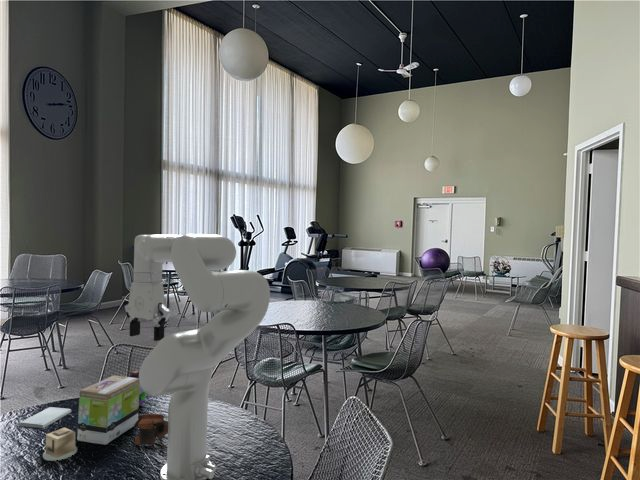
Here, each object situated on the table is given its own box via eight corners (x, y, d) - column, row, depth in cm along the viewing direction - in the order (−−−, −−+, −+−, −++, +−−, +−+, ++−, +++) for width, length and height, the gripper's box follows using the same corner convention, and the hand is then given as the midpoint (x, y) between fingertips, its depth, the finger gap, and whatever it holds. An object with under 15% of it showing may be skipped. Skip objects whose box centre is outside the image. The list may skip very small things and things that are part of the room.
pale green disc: (83, 450, 122) (83, 449, 122) (54, 463, 114) (54, 462, 114) (65, 443, 125) (65, 441, 125) (36, 455, 118) (36, 453, 118)
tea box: (107, 446, 125) (108, 393, 125) (76, 441, 127) (77, 390, 126) (139, 423, 140) (140, 376, 139) (111, 419, 142) (112, 373, 141)
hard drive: (43, 424, 134) (71, 408, 147) (18, 422, 135) (48, 406, 148) (43, 430, 134) (71, 413, 147) (18, 427, 135) (48, 411, 148)
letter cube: (56, 458, 116) (56, 438, 116) (45, 453, 119) (45, 434, 119) (75, 450, 121) (75, 431, 121) (64, 445, 123) (64, 427, 123)
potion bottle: (143, 410, 149) (144, 375, 149) (116, 411, 148) (117, 375, 148) (150, 400, 158) (150, 367, 157) (124, 401, 157) (125, 367, 156)
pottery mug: (123, 446, 126) (128, 415, 130) (146, 447, 134) (149, 418, 138) (159, 442, 123) (162, 410, 127) (180, 444, 130) (182, 414, 134)
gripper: (116, 276, 127) (114, 336, 127) (159, 281, 119) (158, 344, 120) (137, 275, 134) (136, 331, 134) (180, 279, 126) (178, 339, 126)
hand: (146, 337), depth 127 cm, fingers open, 9 cm apart
